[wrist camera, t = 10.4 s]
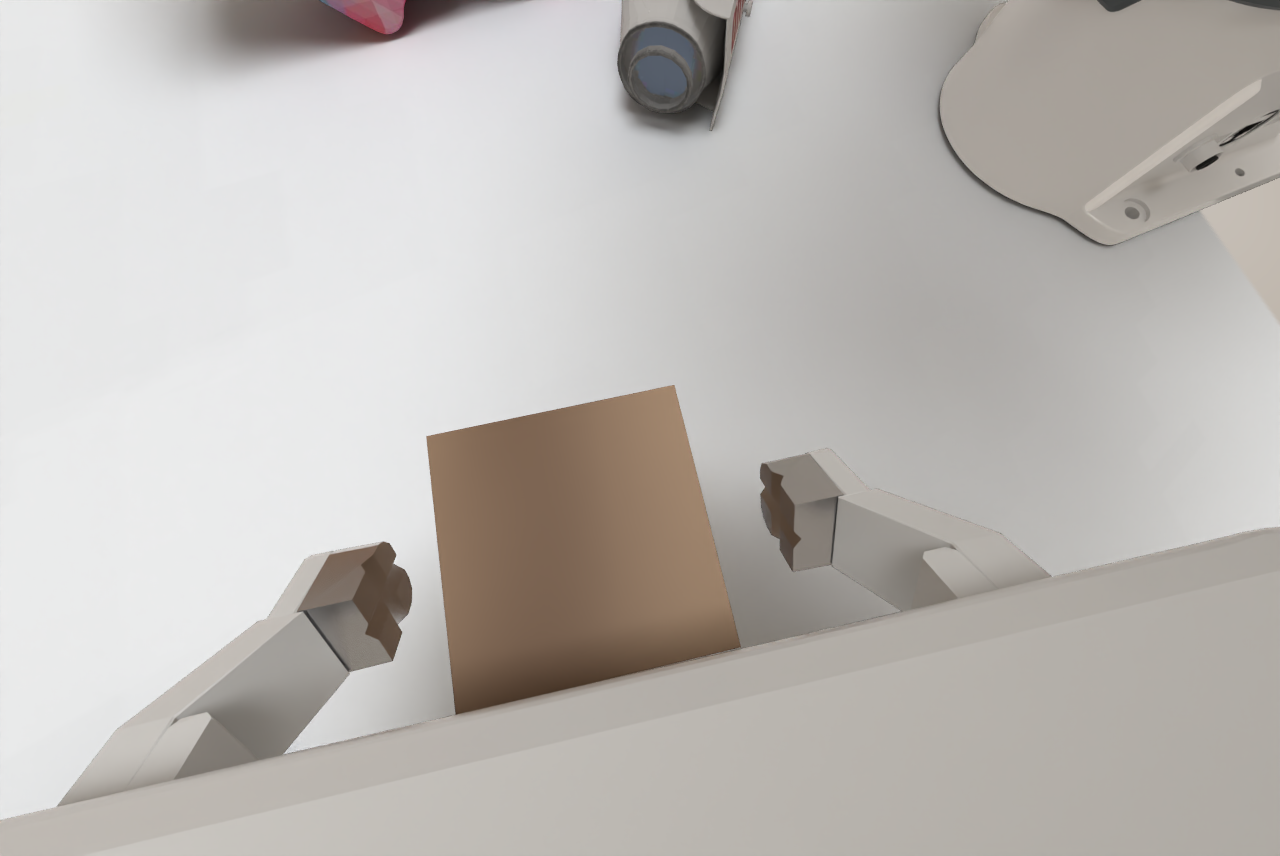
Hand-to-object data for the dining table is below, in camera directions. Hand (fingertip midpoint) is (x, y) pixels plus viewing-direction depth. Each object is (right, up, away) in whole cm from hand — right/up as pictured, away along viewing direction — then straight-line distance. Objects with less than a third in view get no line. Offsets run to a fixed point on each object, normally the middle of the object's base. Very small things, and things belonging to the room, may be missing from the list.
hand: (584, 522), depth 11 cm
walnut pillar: (0, -2, +6) cm, 7 cm away
